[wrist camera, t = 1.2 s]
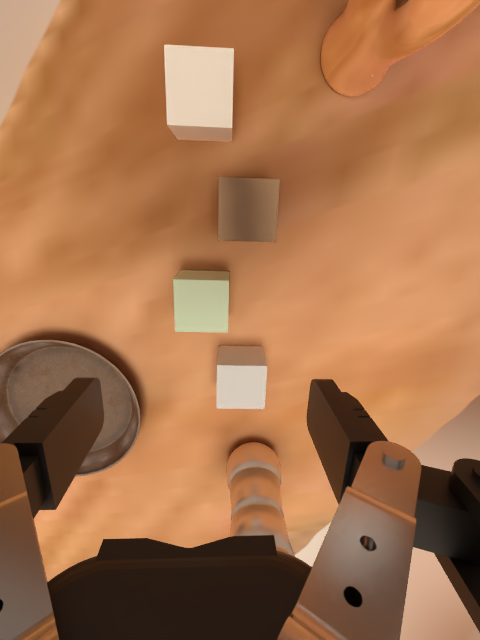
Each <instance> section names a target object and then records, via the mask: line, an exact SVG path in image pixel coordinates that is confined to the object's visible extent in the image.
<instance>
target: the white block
mask: <svg viewBox="0 0 480 640" xmlns="http://www.w3.org/2000/svg"><path fill="white" fill-rule="evenodd" d="M164 56H165V82H166V108H167V125H168V127H169V128H170V130H171V131H172V133H173V134H174V135H175V137H176V138H177V140H194V141H217V142H232V113H233V65H234V48H216V47H198V46H180V45H164Z"/></svg>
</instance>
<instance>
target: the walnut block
mask: <svg viewBox="0 0 480 640" xmlns="http://www.w3.org/2000/svg"><path fill="white" fill-rule="evenodd" d="M279 186H280V179H262V178H236V177H219V196H218V240H224V241H256V242H276V231H277V216H278V201H279Z"/></svg>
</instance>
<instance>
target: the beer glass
mask: <svg viewBox="0 0 480 640" xmlns="http://www.w3.org/2000/svg"><path fill="white" fill-rule="evenodd" d="M479 4H480V0H348V4H347V7H346V9H345V11H344V12H343V14H342V15H340V16H339V17H338V18H337V19H336V20H335V22H334V23H333V24H332V25H331V27H330V28H329V30H328V32H327V33H326V36H325V38H324V41H323V44H322V49H321V67H322V71H323V75H324V77H325V79H326V81H327V83H328V84H329V85H330V87H331V88H332V89H333V90H335V91H336V92H338V93H339V94H342V95H345V96H359V95H362V94H365V93H367V92H369V91H370V90H372V89H373V88H374V87H375V86H376V85H377V84H378V83H379V82H380V81H381V80H382V78H383V77H384V75H385V74H386V72H387V70H388V69H389V67H390V66H391V65H392V64H393V63H395V62H397V61H399V60H401V59H403V58H405V57H407V56H409V55H411V54H413V53H415V52H416V51H418V50H420V49H422V48H424V47H425V46H427V45H429V44H430V43H432V42H433V41H435V40H437V39H438V38H440V37H441V36H443V35H444V34H445V33H446V32H448V31H449V30H450V29H451V28H453V27H454V26H455V25H457V24H458V23H459V22H460V21H462V20H463V19H464V18H465V17H466V16H467V15H468V14H469V13H471V12H472V11H473V10H474V9H475V8H476V7H477V6H478V5H479Z"/></svg>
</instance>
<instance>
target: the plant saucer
mask: <svg viewBox="0 0 480 640" xmlns="http://www.w3.org/2000/svg"><path fill="white" fill-rule="evenodd" d="M77 377H90V378H99V380H100V384H101V392H102V400H103V408H104V423H103V427H102V430H101V432H100V434H99V435H98V437H97V439H96V441H95V442H94V444H93V446H92V448H91V449H90V451H89V453H88V455H87V456H86V458H85V460H84V461H83V463H82V465H81V467H80V468H79V470H78V472H77V474H76V475H75V476H84V475H90V474H94V473H98V472H101V471H104V470H106V469H108V468H110V467H112V466H114V465H115V464H116V463H118V462H119V461H120V460H122V459H123V458H124V457H125V456H126V455H127V454H128V453H129V451H130V450H131V448H132V447H133V445H134V443H135V441H136V439H137V436H138V433H139V428H140V409H139V404H138V401H137V398H136V395H135V393H134V390H133V388H132V387H131V385H130V383H129V381H128V380H127V379H126V377H125V376H124V375H123V373H122V372H121V371H120V370H119V369H118V368H117V367H116V366H115V365H114V364H112V363H111V362H110V361H109V360H107V359H106V358H105V357H103V356H102V355H100V354H98V353H97V352H95V351H93V350H91V349H88V348H86V347H83V346H80V345H77V344H74V343H69V342H65V341H58V340H35V341H28V342H24V343H21V344H18V345H15V346H13V347H10V348H8V349H7V350H5V351H3V352H2V353H0V444H1V443H2V442H3V441H4V440H5V439H6V438H7V437H8V436H9V435H10V434H11V433H12V432H13V431H14V430H15V429H16V428H17V427H18V426H19V425H20V424H21V423H22V422H23V421H24V420H25V419H26V418H28V415H29V414H30V413H31V412H32V411H33V410H36V407H37V406H38V405H39V404H40V403H41V402H42V401H43V400H44V399H46V398H47V397H49V396H51V395H53V394H54V393H56V392H58V391H63V390H64V389H65V388H66V387H67V386H68V385H69V384H70V383H71V381H72V380H73V379H74V378H77Z"/></svg>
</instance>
